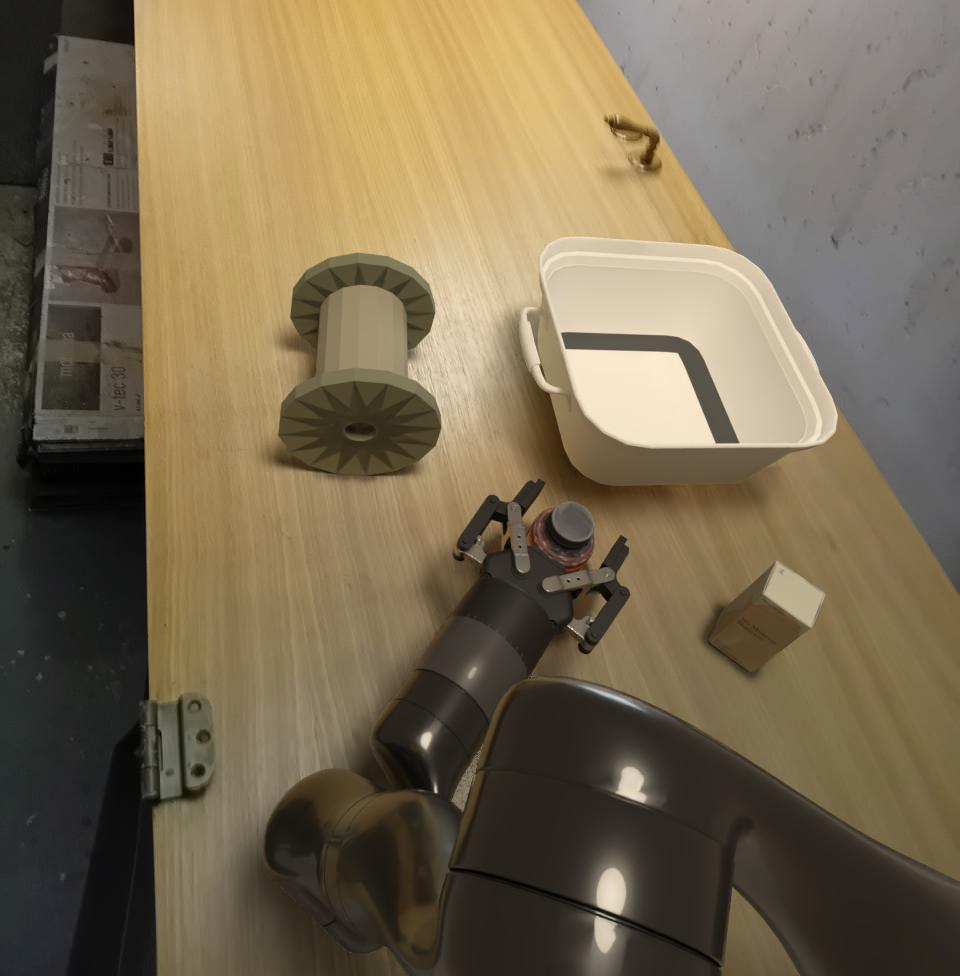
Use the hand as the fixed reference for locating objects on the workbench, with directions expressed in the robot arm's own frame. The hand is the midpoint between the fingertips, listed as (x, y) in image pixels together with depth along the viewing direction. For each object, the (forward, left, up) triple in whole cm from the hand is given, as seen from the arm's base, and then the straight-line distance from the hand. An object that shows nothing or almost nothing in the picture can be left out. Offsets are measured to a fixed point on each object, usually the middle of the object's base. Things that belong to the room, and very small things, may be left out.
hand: (579, 512), depth 75 cm
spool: (+26, +5, -11) cm, 29 cm away
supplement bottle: (0, +2, -11) cm, 11 cm away
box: (-16, -12, -11) cm, 23 cm away
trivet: (0, +1, -11) cm, 11 cm away
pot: (+9, -23, -11) cm, 27 cm away
